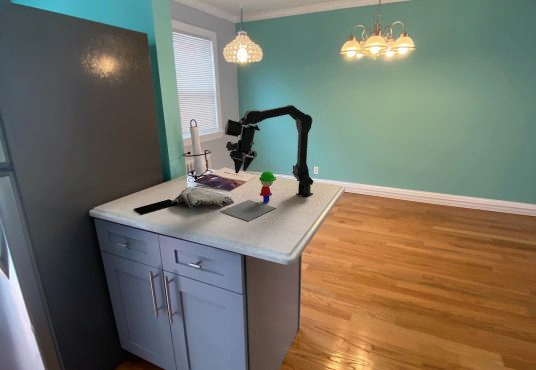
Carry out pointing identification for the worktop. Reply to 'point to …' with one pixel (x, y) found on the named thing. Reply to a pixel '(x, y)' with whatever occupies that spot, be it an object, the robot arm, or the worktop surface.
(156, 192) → the worktop surface
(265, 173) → the toy
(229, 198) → the stone fragment
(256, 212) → the mat
